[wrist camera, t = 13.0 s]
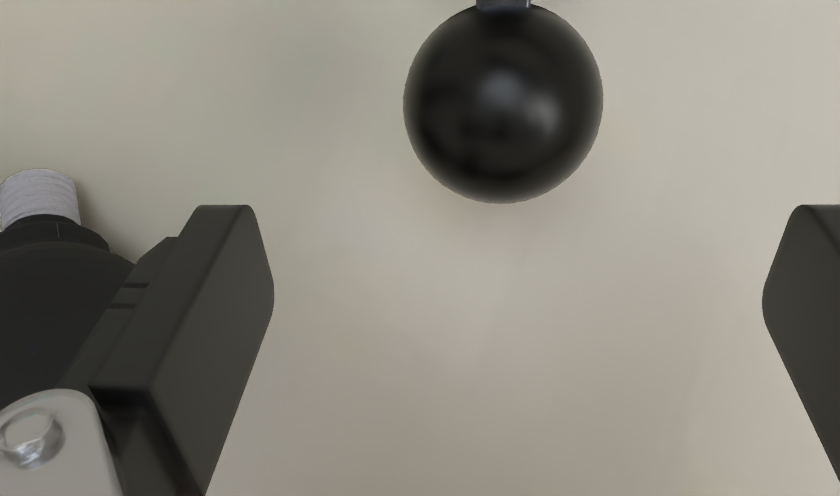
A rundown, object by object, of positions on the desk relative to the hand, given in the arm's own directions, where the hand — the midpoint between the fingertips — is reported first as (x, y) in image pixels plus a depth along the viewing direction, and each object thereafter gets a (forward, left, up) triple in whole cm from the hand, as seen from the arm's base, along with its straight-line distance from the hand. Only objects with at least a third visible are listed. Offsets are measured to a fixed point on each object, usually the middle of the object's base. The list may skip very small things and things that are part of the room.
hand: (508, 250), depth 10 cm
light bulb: (-10, -8, -10) cm, 16 cm away
